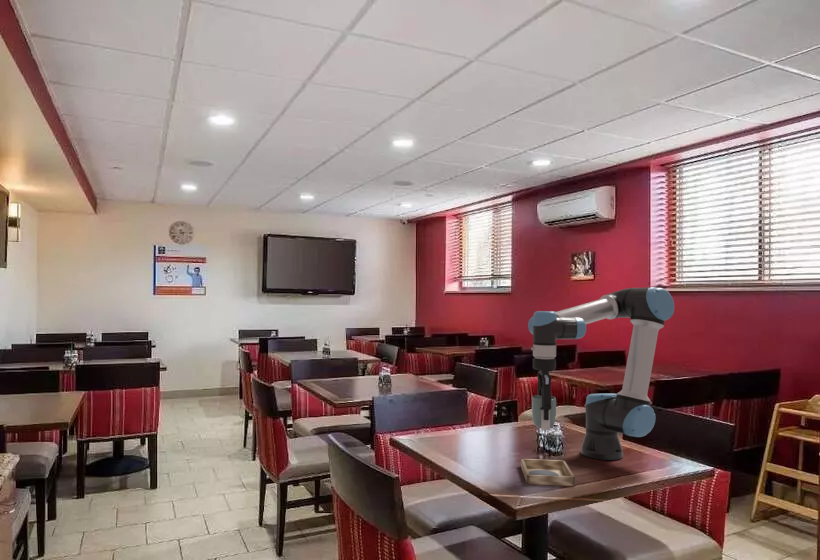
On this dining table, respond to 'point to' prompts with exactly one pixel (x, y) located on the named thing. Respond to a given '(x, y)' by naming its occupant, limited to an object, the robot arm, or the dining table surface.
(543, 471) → the pad
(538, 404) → the cup
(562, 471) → the wooden tray
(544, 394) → the robot arm
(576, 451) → the dining table surface
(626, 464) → the dining table surface
